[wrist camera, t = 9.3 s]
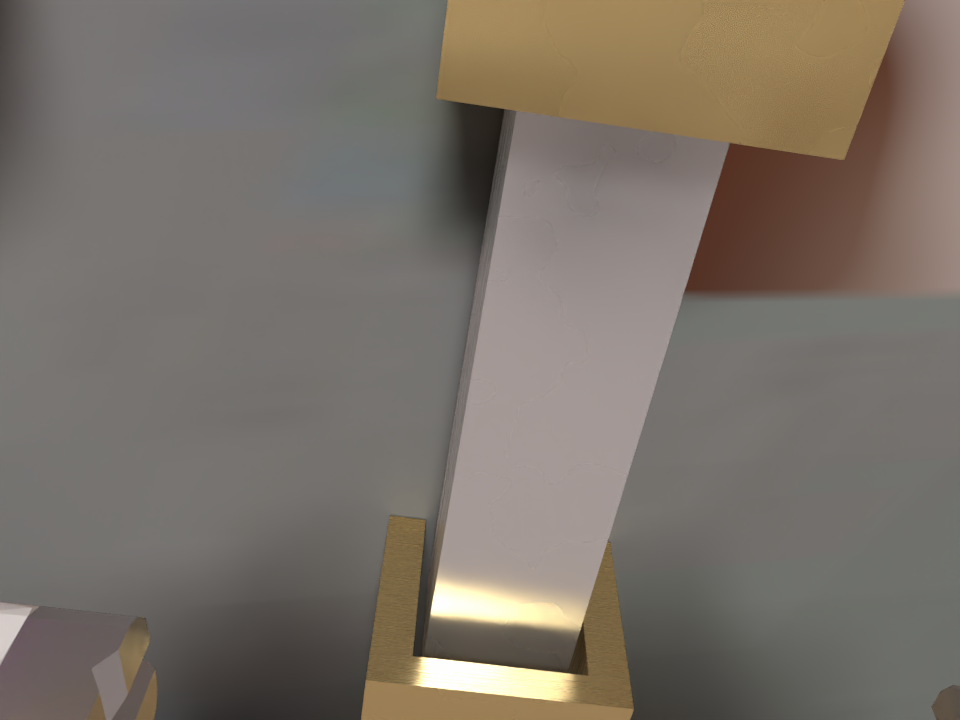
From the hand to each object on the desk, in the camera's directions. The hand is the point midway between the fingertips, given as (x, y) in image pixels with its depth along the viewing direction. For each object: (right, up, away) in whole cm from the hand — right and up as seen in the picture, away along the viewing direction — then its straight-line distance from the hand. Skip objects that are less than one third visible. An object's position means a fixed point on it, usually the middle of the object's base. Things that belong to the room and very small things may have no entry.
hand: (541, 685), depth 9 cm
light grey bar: (+1, +5, +11) cm, 13 cm away
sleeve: (0, -3, +17) cm, 17 cm away
